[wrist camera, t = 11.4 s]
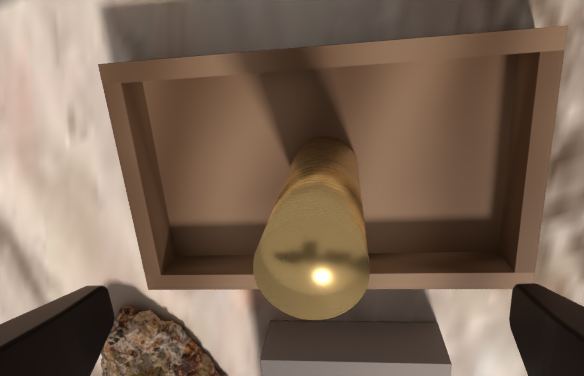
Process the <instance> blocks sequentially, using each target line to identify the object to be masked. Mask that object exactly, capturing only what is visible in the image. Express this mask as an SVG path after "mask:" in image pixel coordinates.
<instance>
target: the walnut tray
mask: <svg viewBox="0 0 584 376" xmlns="http://www.w3.org/2000/svg"><path fill="white" fill-rule="evenodd" d="M567 27H568V26H559V27H546V28H533V29H521V30H508V31H496V32H484V33H472V34H460V35H447V36H435V37H423V38H411V39H398V40H386V41H374V42H362V43H350V44H337V45H325V46H313V47H301V48H288V49H276V50H264V51H252V52H240V53H227V54H215V55H203V56H191V57H178V58H166V59H154V60H142V61H130V62H118V63H107V64H98V66H99V71H100V75H101V80H102V84H103V89H104V93H105V98H106V102H107V107H108V111H109V116H110V120H111V125H112V129H113V133H114V138H115V142H116V147H117V151H118V156H119V160H120V165H121V169H122V174H123V178H124V183H125V187H126V192H127V196H128V201H129V205H130V210H131V214H132V219H133V223H134V228H135V232H136V237H137V241H138V245H139V250H140V254H141V259H142V263H143V268H144V272H145V277H146V281H147V286H148V290H194V289H259V288H258V286H257V283H256V281H255V277H254V272H253V261H254V255H255V252H256V249H257V247H258V244H259V242H260V240H261V237H262V235H263V232H264V230H265V228H266V225H267V223H268V220H269V218H270V215H271V213H272V211H273V208H274V206H275V203H276V201H277V198H278V196H279V194H280V191H281V189H282V186H283V184H284V182H285V179H286V177H287V174H288V172H289V169H290V167H291V165H292V162H293V160H294V157H295V155H296V153H297V151H298V150H299V148H300V147H301V146H302V145H303V144H304V143H306V142H307V141H309V140H311V139H313V138H316V137H321V136H330V137H335V138H338V139H340V140H342V141H343V142H345V143H346V144H347V145H349V147H350V148H351V149H352V150H353V152H354V153H355V155H356V158H357V162H358V170H359V179H360V187H361V196H362V205H363V213H364V222H365V231H366V239H367V248H368V257H369V265H370V278H369V283H368V286H367V289H513V288H514V286H515V285H516V284H523V283H533V282H534V275H535V267H536V260H537V252H538V245H539V237H540V230H541V222H542V215H543V207H544V200H545V192H546V185H547V177H548V169H549V162H550V154H551V147H552V139H553V132H554V124H555V117H556V109H557V102H558V94H559V87H560V79H561V72H562V64H563V57H564V49H565V42H566V34H567Z"/></svg>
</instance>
